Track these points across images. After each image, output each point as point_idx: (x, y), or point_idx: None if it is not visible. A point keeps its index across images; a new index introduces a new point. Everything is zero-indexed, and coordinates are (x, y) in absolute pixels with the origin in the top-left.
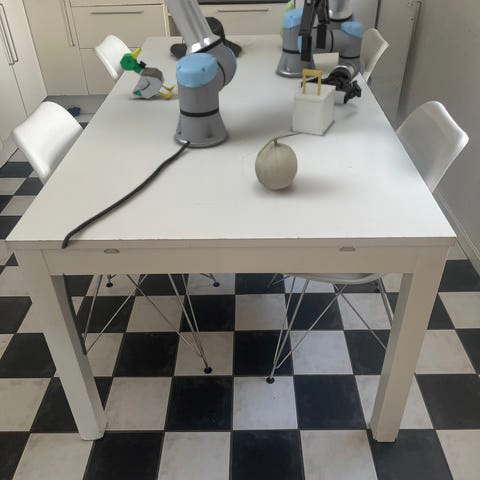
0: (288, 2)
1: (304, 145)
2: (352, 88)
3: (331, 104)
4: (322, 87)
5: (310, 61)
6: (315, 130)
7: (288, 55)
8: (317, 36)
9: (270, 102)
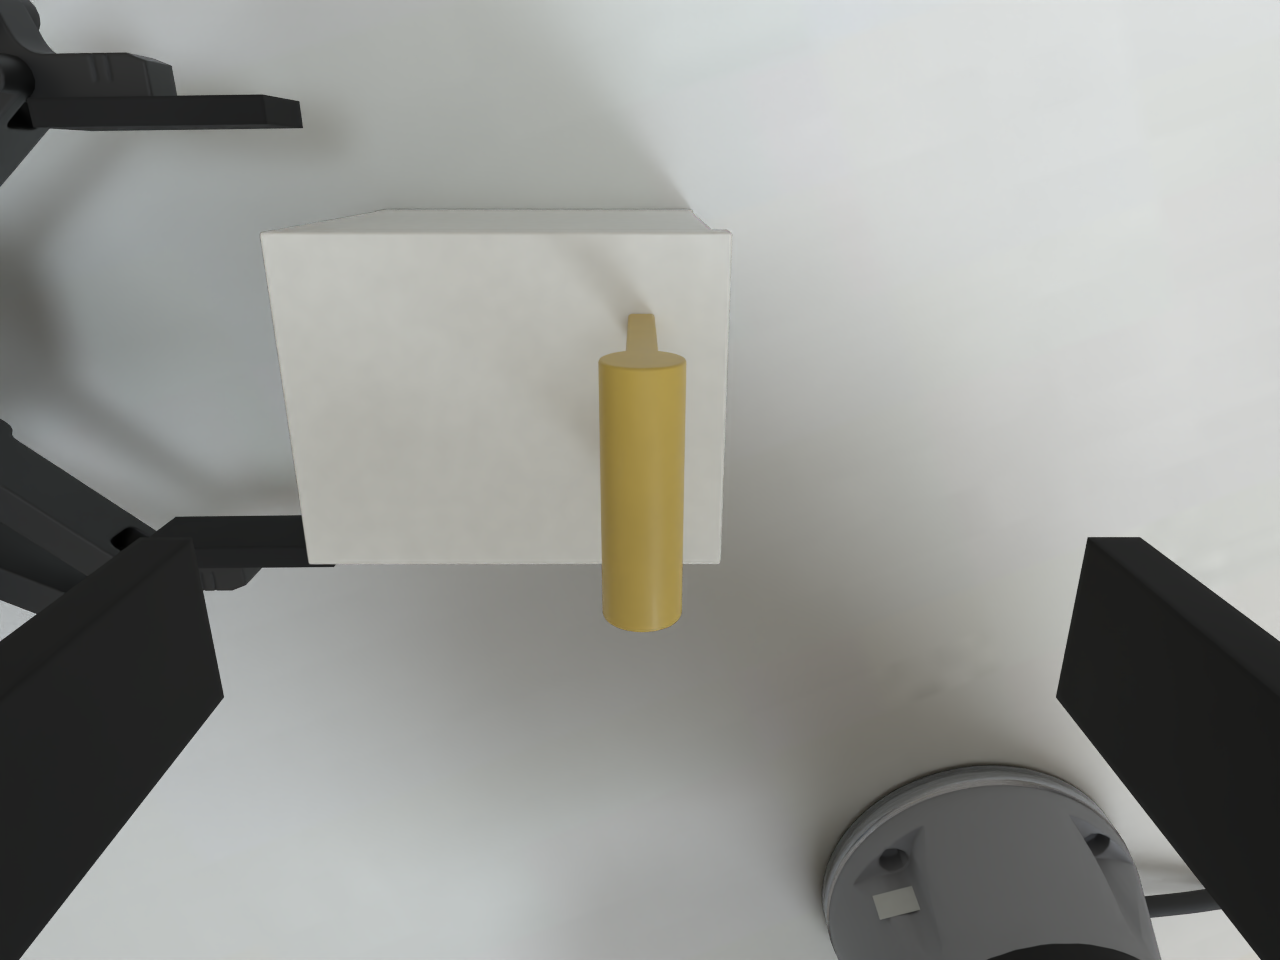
0: None
1: (909, 277)
2: (9, 87)
3: (431, 220)
4: (380, 362)
5: (1113, 537)
6: None
7: None
8: (90, 843)
9: (260, 748)
